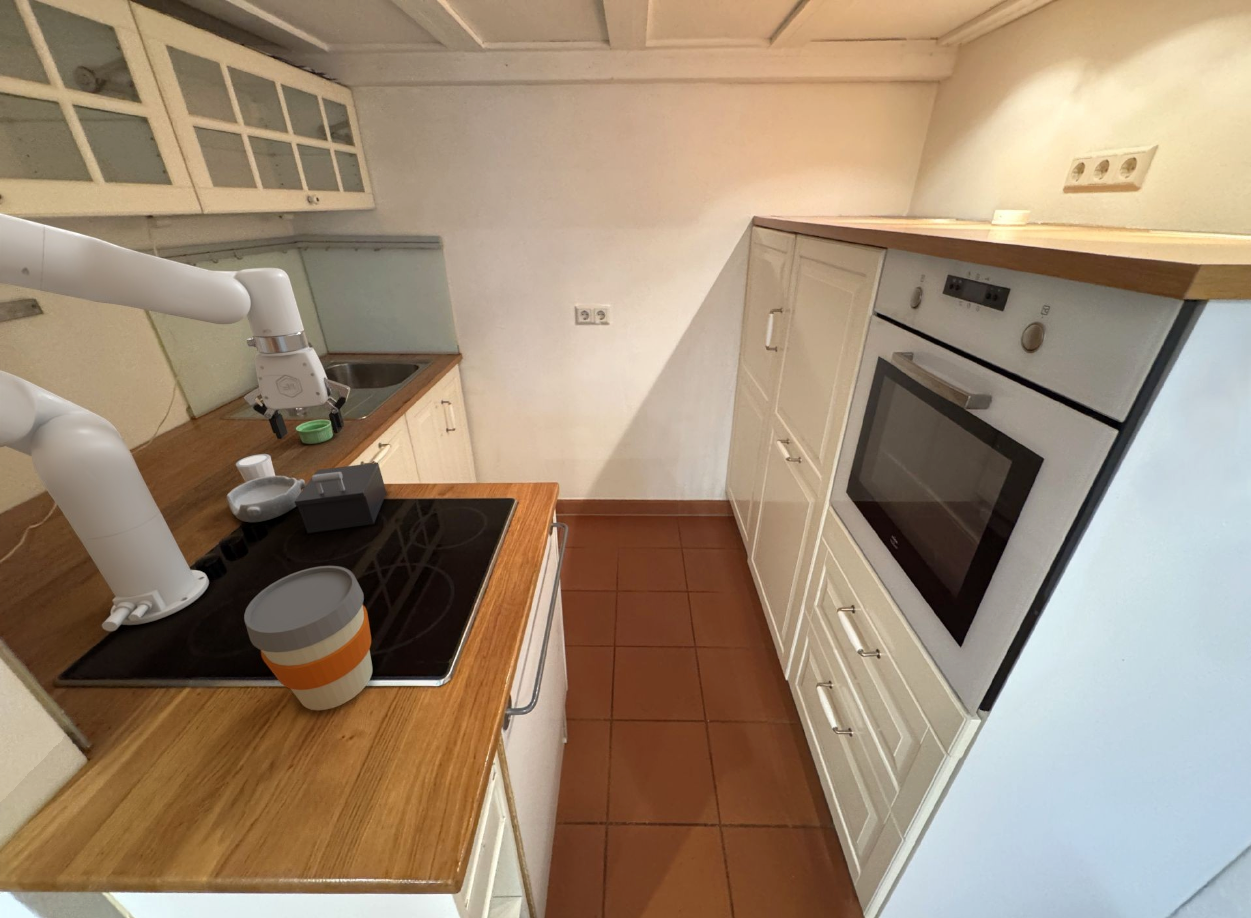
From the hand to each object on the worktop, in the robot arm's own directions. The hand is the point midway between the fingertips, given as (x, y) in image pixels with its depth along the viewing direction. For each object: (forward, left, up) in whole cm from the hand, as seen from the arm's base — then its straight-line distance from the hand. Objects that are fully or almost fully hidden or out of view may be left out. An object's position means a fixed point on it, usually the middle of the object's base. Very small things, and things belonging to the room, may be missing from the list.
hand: (310, 433), depth 95 cm
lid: (+5, 0, -14) cm, 15 cm away
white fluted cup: (+24, +24, -21) cm, 40 cm away
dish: (+12, +18, -21) cm, 30 cm away
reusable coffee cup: (-43, -10, -21) cm, 49 cm away
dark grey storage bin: (+5, 0, -21) cm, 21 cm away
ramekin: (+52, +20, -21) cm, 60 cm away
